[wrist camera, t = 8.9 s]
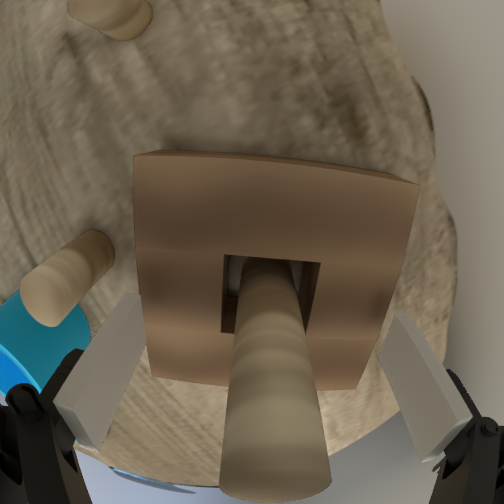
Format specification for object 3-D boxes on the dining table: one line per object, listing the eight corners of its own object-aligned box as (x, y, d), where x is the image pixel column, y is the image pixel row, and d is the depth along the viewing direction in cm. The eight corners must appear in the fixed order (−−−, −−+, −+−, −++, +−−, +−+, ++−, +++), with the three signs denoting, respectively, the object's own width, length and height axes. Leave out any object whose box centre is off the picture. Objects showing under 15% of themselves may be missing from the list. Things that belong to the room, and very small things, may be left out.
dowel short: (112, 4, 12) (74, -22, 8) (156, -4, 12) (126, -37, 8) (104, 44, 13) (61, 25, 9) (148, 37, 14) (114, 11, 9)
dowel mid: (75, 228, 18) (14, 271, 12) (112, 231, 18) (55, 279, 12) (81, 269, 20) (28, 320, 13) (116, 274, 20) (68, 331, 13)
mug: (83, 288, 20) (25, 353, 13) (97, 362, 23) (62, 428, 16) (-9, 264, 20) (-63, 305, 12) (10, 331, 23) (-30, 377, 15)
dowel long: (243, 247, 19) (219, 464, 6) (294, 252, 19) (347, 463, 6) (239, 291, 20) (218, 500, 7) (287, 295, 20) (315, 501, 7)
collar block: (159, 150, 16) (133, 155, 13) (389, 173, 17) (419, 185, 13) (165, 340, 22) (152, 376, 18) (343, 353, 22) (355, 389, 18)
